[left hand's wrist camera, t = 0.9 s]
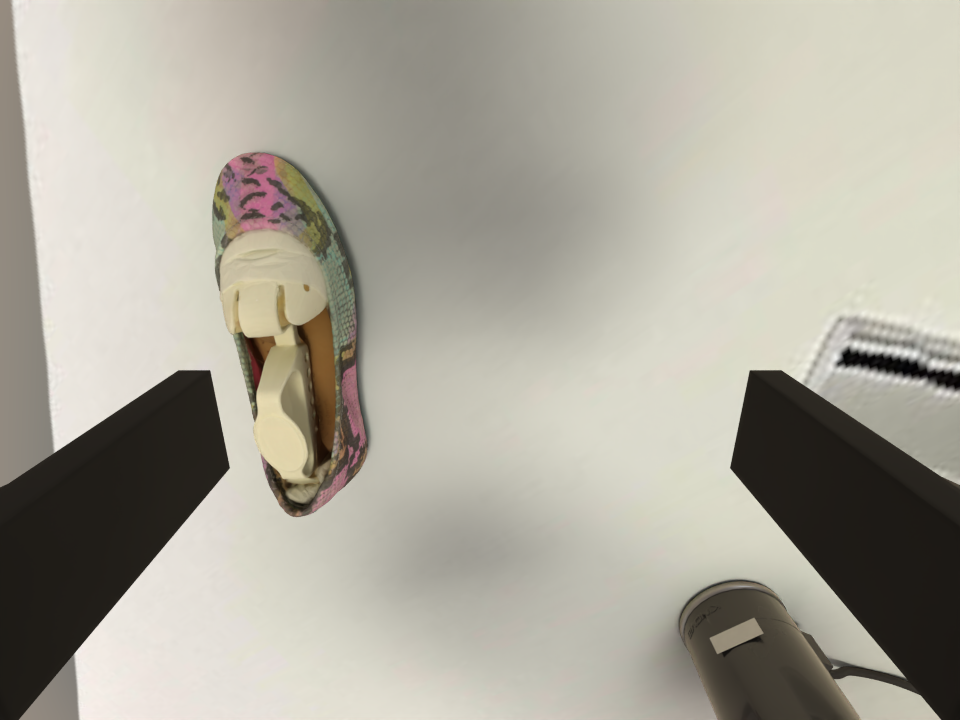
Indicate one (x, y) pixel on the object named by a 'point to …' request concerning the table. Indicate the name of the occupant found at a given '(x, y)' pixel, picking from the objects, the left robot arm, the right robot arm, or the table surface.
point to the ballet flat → (290, 327)
